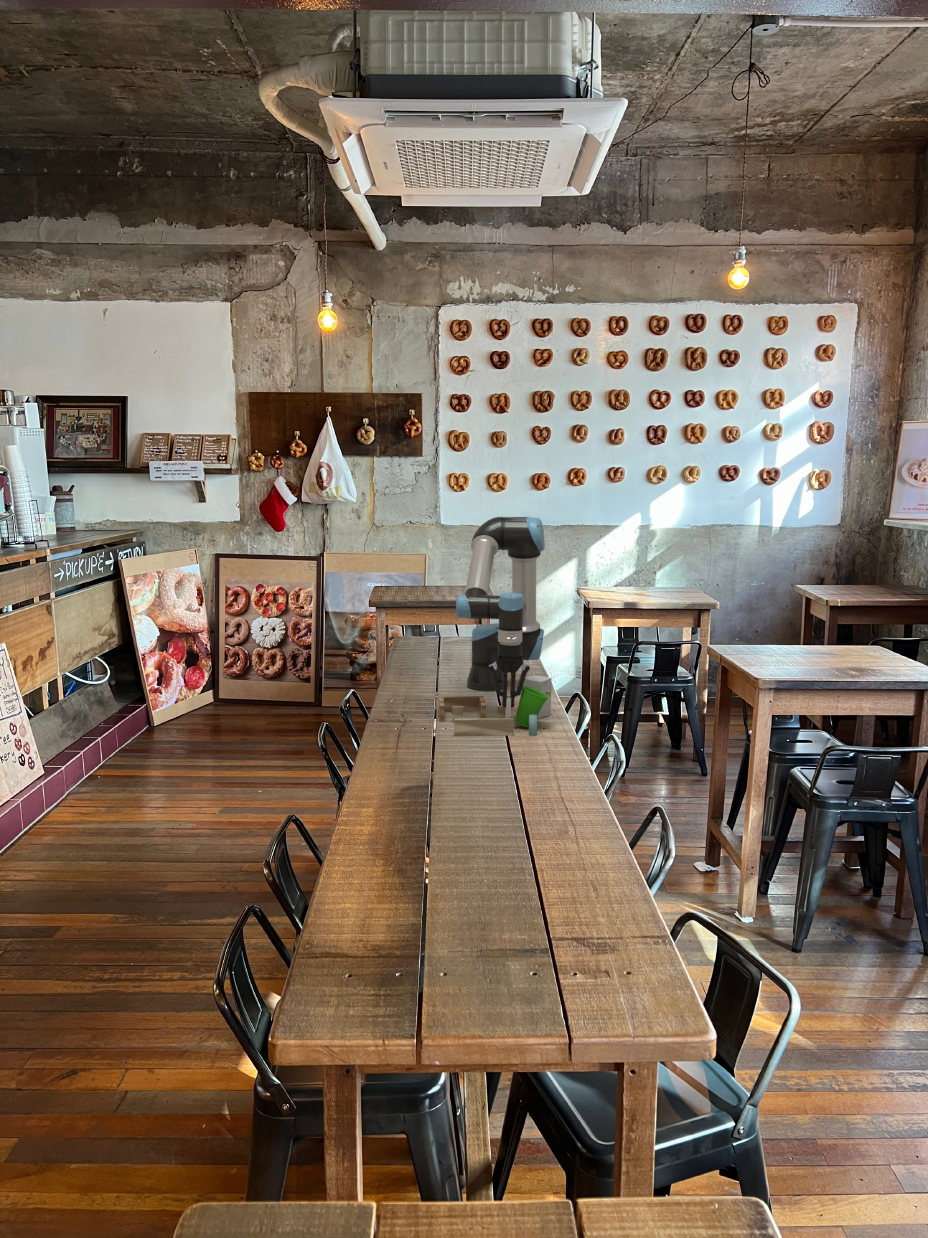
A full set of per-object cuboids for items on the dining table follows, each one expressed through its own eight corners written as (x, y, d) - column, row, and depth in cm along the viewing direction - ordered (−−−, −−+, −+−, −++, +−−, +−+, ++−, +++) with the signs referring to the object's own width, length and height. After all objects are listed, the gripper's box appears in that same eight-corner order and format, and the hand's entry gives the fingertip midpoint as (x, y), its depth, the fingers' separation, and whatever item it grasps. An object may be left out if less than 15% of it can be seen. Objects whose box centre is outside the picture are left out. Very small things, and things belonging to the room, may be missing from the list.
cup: (535, 732, 269) (549, 700, 268) (508, 721, 269) (522, 689, 268) (535, 726, 278) (548, 694, 277) (509, 715, 278) (522, 683, 277)
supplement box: (539, 719, 283) (540, 681, 281) (520, 715, 287) (521, 678, 285) (551, 714, 288) (552, 677, 286) (532, 710, 293) (533, 674, 291)
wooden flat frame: (438, 710, 292) (438, 696, 292) (504, 710, 294) (504, 695, 293) (441, 736, 264) (441, 720, 264) (513, 735, 266) (513, 719, 265)
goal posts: (522, 719, 282) (522, 701, 281) (529, 719, 282) (530, 701, 281) (529, 735, 265) (529, 716, 264) (537, 735, 265) (537, 716, 264)
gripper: (490, 645, 265) (488, 720, 268) (532, 645, 265) (529, 720, 269) (488, 640, 272) (486, 714, 276) (529, 641, 273) (526, 714, 276)
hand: (507, 717), depth 272 cm, fingers closed
